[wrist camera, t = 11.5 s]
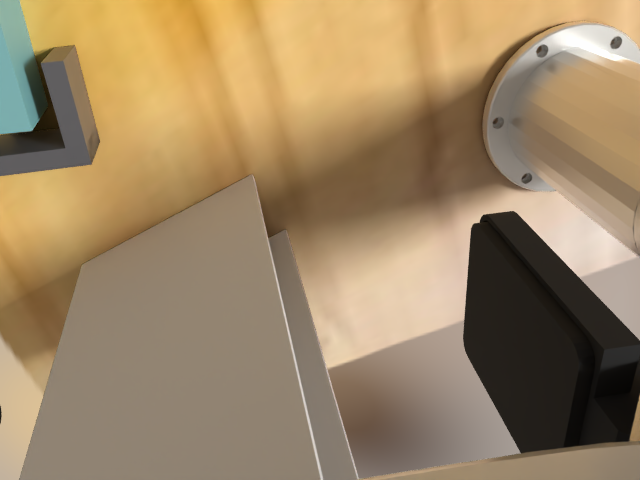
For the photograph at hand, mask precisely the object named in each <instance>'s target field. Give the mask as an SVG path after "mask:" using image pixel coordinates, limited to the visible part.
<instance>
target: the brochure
mask: <svg viewBox="0 0 640 480" xmlns="http://www.w3.org/2000/svg"><path fill="white" fill-rule="evenodd" d="M356 479H359V478H358V474H357V471H356V467H355V464H354V461H353V457H352V454H351V450H350V447H349V444H348V440H347V436H346V433H345V429H344V426H343V422H342V419H341V416H340V412H339V409H338V405H337V402H336V398H335V395H334V391H333V388H332V384H331V381H330V378H329V374H328V371H327V367H326V364H325V360H324V357H323V353H322V350H321V346H320V343H319V340H318V336H317V333H316V329H315V326H314V322H313V319H312V315H311V312H310V308H309V305H308V302H307V298H306V295H305V291H304V288H303V284H302V281H301V277H300V274H299V270H298V267H297V264H296V260H295V257H294V253H293V250H292V246H291V243H290V239H289V236H288V232H287V231H286V229H285V230H283V231H281V232H279V233H277V234H275V235H274V236H272V237H270V238H268V235H267V231H266V227H265V222H264V218H263V213H262V209H261V205H260V200H259V196H258V192H257V187H256V183H255V178H254V176H253V174H251V175H249V176H248V177H246V178H244V179H242V180H240V181H238V182H236V183H234V184H232V185H231V186H229V187H227V188H225V189H223V190H221V191H219V192H217V193H216V194H214V195H212V196H210V197H208V198H206V199H204V200H202V201H200V202H199V203H197V204H195V205H193V206H191V207H189V208H187V209H185V210H183V211H182V212H180V213H178V214H176V215H174V216H172V217H170V218H168V219H167V220H165V221H163V222H161V223H159V224H157V225H155V226H153V227H151V228H150V229H148V230H146V231H144V232H142V233H140V234H138V235H136V236H135V237H133V238H131V239H129V240H127V241H125V242H123V243H121V244H119V245H118V246H116V247H114V248H112V249H110V250H108V251H106V252H104V253H102V254H101V255H99V256H97V257H95V258H93V259H91V260H89V261H87V262H86V263H84V264H82V266H81V269H80V273H79V276H78V280H77V283H76V286H75V290H74V293H73V297H72V300H71V304H70V307H69V310H68V314H67V317H66V321H65V324H64V328H63V331H62V334H61V338H60V341H59V345H58V348H57V352H56V355H55V358H54V362H53V365H52V369H51V372H50V376H49V379H48V382H47V386H46V389H45V393H44V396H43V400H42V403H41V406H40V410H39V414H38V417H37V420H36V424H35V427H34V430H33V434H32V437H31V441H30V444H29V448H28V451H27V454H26V458H25V461H24V465H23V468H22V471H21V475H20V478H19V480H356Z"/></svg>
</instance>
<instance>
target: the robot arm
mask: <svg viewBox="0 0 640 480" xmlns="http://www.w3.org/2000/svg"><path fill="white" fill-rule="evenodd" d="M538 47H539V49H538V50H537V48H538ZM495 118H496V119H495ZM494 119H495V121H494V122H493V120H494ZM482 127H483V140H484V143H485V147H486V151H487V153H488V155H489V157H490V159H491V161H492V163H493V164H494V166H495V167H496V168H497V169H498V170H499V171H500V172H501V173H502V174H503V175H504V176H505V177H506V178H508V179H509V180H510V181H511V182H513V183H514V184H516V185H518V186H520V187H522V188H525V189H529V190H533V191H541V192H552V191H557V192H559V193H560V194H561V195H562V196H563V197H565V198H566V199H567V200H568V201H570V202H571V203H572V204H573V205H575V206H576V207H577V208H578V209H580V210H581V211H582V212H583V213H585V214H586V215H587V216H588V217H589V218H591V219H592V220H593V221H594V222H596V223H597V224H598V225H599V226H601V227H602V228H603V229H604V230H606V231H607V232H608V233H609V234H611V235H612V236H613V237H614V238H616V239H617V240H618V241H619V242H620V243H622V244H623V245H624V246H625V247H627V248H628V249H629V250H630V251H632V252H633V253H634V254H635V255H637V256H638V257H639V258H640V49H639V47H638V46H637V44H636V43H635V42H634V41H633V40H632V39H631V38H630V37H629V36H628V35H627V34H625V33H624V32H622V31H620V30H618V29H616V28H614V27H612V26H608V25H605V24H602V23H598V22H589V21H578V22H569V23H565V24H562V25H559V26H555V27H552V28H550V29H548V30H546V31H544V32H542V33H540V34H539V35H537V36H535V37H534V38H532V39H531V40H530V41H528V42H527V43H526V44H524V45H523V46H522V47H520V49H519V50H518V51H517V52H516V53H515V54H514V55H513V56H512V57H511V58H510V59H509V60H508V61H507V63H506V64H505V65H504V67H503V68H502V70H501V71H500V72H499V74H498V75H497V77H496V79H495V81H494V83H493V85H492V87H491V89H490V91H489V94H488V98H487V101H486V104H485V108H484V115H483V123H482ZM463 340H464V347H465V351H466V354H467V356H468V358H469V360H470V362H471V363H472V365H473V367H474V369H475V371H476V372H477V374H478V376H479V378H480V380H481V382H482V383H483V385H484V387H485V389H486V391H487V392H488V394H489V396H490V398H491V399H492V401H493V403H494V405H495V407H496V409H497V410H498V412H499V414H500V416H501V417H502V419H503V421H504V423H505V425H506V427H507V429H508V430H509V432H510V434H511V436H512V437H513V439H514V441H515V443H516V445H517V447H518V449H519V450H520V452H521V454H515V455H508V456H502V457H496V458H489V459H482V460H476V461H470V462H462V463H456V464H450V465H444V466H437V467H431V468H425V469H418V470H412V471H406V472H400V473H393V474H387V475H381V476H375V477H368V478H362V479H356V480H640V341H639V339H638V338H637V337H636V336H635V335H634V334H633V333H632V332H631V331H630V330H629V329H628V328H627V327H626V326H625V325H624V324H623V323H622V322H621V321H620V320H619V319H618V318H617V317H616V315H615V314H614V313H613V312H612V311H611V310H610V309H609V308H608V307H607V306H606V305H605V304H604V303H603V302H602V301H601V300H600V299H599V298H598V297H597V296H596V295H595V294H594V293H593V292H592V291H591V290H590V289H589V288H588V286H586V284H584V282H582V280H581V279H580V278H579V277H578V276H577V275H576V274H575V273H574V272H573V271H572V270H571V269H570V268H569V267H568V266H567V265H566V264H565V263H564V262H563V261H562V260H561V259H560V257H559V256H558V255H557V254H556V253H555V252H554V251H553V250H552V249H551V248H550V247H549V246H548V245H547V244H546V243H545V242H544V241H543V240H542V239H541V238H540V237H539V236H538V235H537V234H536V233H535V232H534V231H533V230H532V228H531V227H530V226H529V225H528V224H527V223H526V222H525V221H524V220H523V219H522V218H521V217H520V216H519V215H518V214H517V213H516V212H514V211H510V212H502V213H494V214H486V215H483V216H482V217H481V220H480V223H475V224H473V226H472V228H471V238H470V251H469V265H468V279H467V292H466V306H465V320H464V334H463ZM0 423H1V406H0Z"/></svg>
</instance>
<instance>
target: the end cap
mask: <svg viewBox="0 0 640 480" xmlns="http://www.w3.org/2000/svg"><path fill="white" fill-rule="evenodd" d="M41 66H42V69H43V73H44V76H45V80H46V83H47V86H48V90H49V93H50V97H51V100H52V104H53V107H54V110H55V114H56V117H57V121H58V124H59V127H60V128H57V129H49V130H40V131H32V132H23V133H15V134H6V135H0V176H4V175H12V174H20V173H28V172H36V171H44V170H52V169H60V168H68V167H76V166H83V165H91V164H92V162H93V159H94V157H95V154H96V151H97V148H98V146H99V143H100V139H99V136H98V132H97V128H96V124H95V120H94V116H93V113H92V109H91V105H90V101H89V97H88V93H87V90H86V86H85V82H84V78H83V74H82V70H81V67H80V63H79V59H78V55H77V51H76V47H75V45H73V46H63V47H54V49H53V50H52V51H51V52H50V53H49V54H48V55H47V56H46V58H45V59H44V60H43V61H42V62H41Z"/></svg>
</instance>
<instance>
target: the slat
mask: <svg viewBox="0 0 640 480" xmlns="http://www.w3.org/2000/svg"><path fill="white" fill-rule="evenodd" d="M47 108H48V103H47V99H46V95H45V92H44V88H43V84H42V81H41V77H40V74H39V70H38V66H37V63H36V59H35V55H34V52H33V48H32V44H31V41H30V37H29V34H28V30H27V26H26V23H25V19H24V15H23V12H22V8H21V5H20V1H19V0H0V134H7V133H17V132H27V131H32V130H33V129H34V127H35V126H36V124H37V123H38V121H39V120H40V118H41V117H42V115H43V114H44V112H45V111H46V109H47Z"/></svg>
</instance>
